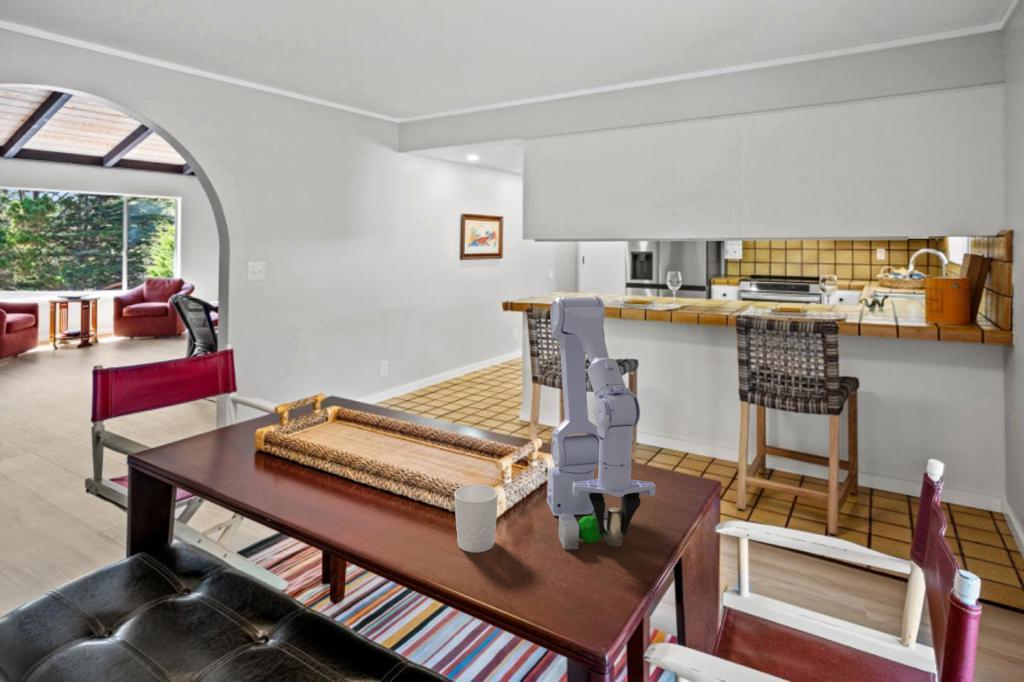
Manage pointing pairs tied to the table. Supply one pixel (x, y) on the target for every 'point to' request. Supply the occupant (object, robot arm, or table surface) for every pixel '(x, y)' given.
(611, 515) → the lever
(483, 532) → the white cup
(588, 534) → the polyhedron
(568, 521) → the light grey block
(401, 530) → the table surface
